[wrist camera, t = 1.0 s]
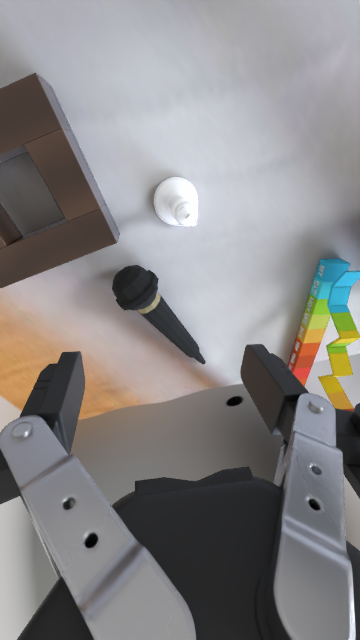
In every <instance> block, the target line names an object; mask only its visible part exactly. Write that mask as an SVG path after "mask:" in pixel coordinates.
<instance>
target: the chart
mask: <svg viewBox="0 0 360 640" xmlns="http://www.w3.org/2000/svg"><path fill="white" fill-rule="evenodd" d="M349 265H350V263H348V262H346V261H344V260H342V259H320V263H319V266H318V269H317V272H316V276H315V279H314V282H313V285H312V289H311V292H310V295H309V298H308V302H307V305H306V308H305V311H304V315H303V318H302V321H301V324H300V328H299V331H298V334H297V337H296V341H295V344H294V347H293V350H292V354H291V357H290V360H289V363H288V367H287V368H289V369H290V370H291V371H292V374H294V375H295V376H296V377H297V379H298V380H299V381H300V382H301V383H302V385H303V386H305V383H306V380H307V378H308V375H309V373H310V370H311V367H312V364H313V362H314V359H315V356H316V354H317V351H318V348H319V346H320V343H321V340H322V338H323V335H324V332H325V330H326V327H327V324H328V321H329V319H330V316H332V319H333V322H334V324H335V327H336V329H337V332H338V334H339V338H338V339H336V340H335V341H333V342H331V343H330V344H328V345H327V351H328V356H329V360H330V363H331V368H332V372H333V374H332V375H326V376H321V377H318V378H319V380H320V382H321V384H322V386H323V388H324V390H325V392H326V394H327V395H328V397H329V399H330V401H331V403H332V405H333V407H334V408H337V409H342V410H348V411H353V410H354V408H353V406H352V404H351V403H350V401H349V399H348V398H347V396H346V394H345V392H344V390H343V388H342V387H341V385H340V383H339V382H338V380H337V378H336V377H341V376H347V375H353V373H352V369H351V365H350V361H349V357H348V354H347V350H346V347H345V346H347V345H349V344H350V343H352V342H354V341H355V340H357V339H359V338H360V335H359V333H358V331H357V328H356V326H355V324H354V321H353V319H352V317H351V314H350V312H349V309H348V307H347V302H348V298H349V294H350V290H351V286H352V285H353V284H354V283H355V282H356V281H357V280H358V279H359V278H360V271H347V270H348V268H349Z"/></svg>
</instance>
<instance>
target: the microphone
mask: <svg viewBox="0 0 360 640" xmlns="http://www.w3.org/2000/svg"><path fill="white" fill-rule="evenodd" d="M157 284H158V278H157V276H156V275H155V274H154V273H153V272H151V271H150V270H149V271H146V270H145V269H144V268H142V267H140V266H138V265H134V266H128V267H125V268H123V269H122V270H120V271H119V272H118V273H117V275H116V276H115V278H114V281H113V286H112V290H113V292H114V294H115V296H116V297H117V299H116V301H117V303H118V304H119V306H120V307H121V308H122V309H124V310H138V311H139V312H140V314H141V315H143V316H144V317H145V318H146V319H147V320H148V321H149V322H150V323H151V324H153V325H154V326H155V327H156V328H157V329H158V330H159V331H160V332H162V333H163V334H164V335H165V336H166V337H167V338H168V339H169V340H170V341H172V342H173V343H174V344H175V345H176V346H177V347H178V348H179V349H180V350H182V351H183V352H184V353H185V354H186V355H187V356H189V357H194V358H195V359H196V360H197V361H199V362H200V363H202V364H205V360H204V359H203V357H202V355H201V354H200V352H199V347H198V345H197V344H196V342H195V341H194V340H193V338H192V337H191V336H190V334H189V333H188V332H187V330H186V329H185V328H184V326H183V325H182V324H181V322H180V321H179V320H178V318H177V317H176V315H175V314H174V313H173V311H172V310H171V309H170V307H169V306H168V305H167V303H166V302H165V301H164V299H163V298H162V297H161V296H160V295H159V294H158V293H157V289H158V286H157Z"/></svg>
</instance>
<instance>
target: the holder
mask: <svg viewBox="0 0 360 640" xmlns="http://www.w3.org/2000/svg"><path fill="white" fill-rule="evenodd" d="M26 152H28V153H29V154H30V156H31V158H32V160H33V162H34V163H35V165H36V167H37V169H38V170H39V172H40V174H41V176H42V178H43V179H44V181H45V183H46V185H47V186H48V188H49V190H50V192H51V194H52V195H53V197H54V199H55V201H56V202H57V204H58V206H59V208H60V210H61V211H62V213H63V215H64V217H65V218H66V219H64V220H61V221H59V222H56V223H54V224H51V225H49V226H46V227H44V228H41V229H39V230H37V231H34V232H32V233H29V234H27V235H24V236H22V235H21V233H20V232H19V230H18V229H17V227H16V226H15V224H14V223H13V221H12V220H11V218H10V217H9V216H8V214H7V213H6V211H5V210H4V208H3V207H2V205H1V204H0V288H3V287H5V286H8V285H10V284H13V283H15V282H18V281H21V280H23V279H26V278H28V277H31V276H33V275H36V274H38V273H41V272H44V271H46V270H49V269H51V268H54V267H56V266H59V265H61V264H64V263H66V262H69V261H72V260H74V259H77V258H79V257H82V256H84V255H87V254H89V253H92V252H95V251H97V250H100V249H102V248H105V247H107V246H110V245H112V244H115V243H117V240H118V237H119V234H120V233H119V231H118V229H117V227H116V224H115V222H114V220H113V218H112V216H111V214H110V212H109V209H108V207H107V205H106V203H105V201H104V199H103V196H102V194H101V192H100V190H99V188H98V186H97V183H96V181H95V179H94V177H93V175H92V173H91V171H90V168H89V166H88V164H87V162H86V160H85V158H84V156H83V153H82V151H81V149H80V147H79V145H78V143H77V140H76V138H75V136H74V134H73V132H72V130H71V128H70V125H69V123H68V121H67V119H66V117H65V115H64V113H63V110H62V108H61V106H60V104H59V102H58V100H57V97H56V95H55V93H54V91H53V89H52V87H51V86H50V85H49V84H48V83H47V82H46V81H44V80H43V79H42V78H41V77H40V76H38V75H37V74H36V73H34V74H32V75H29V76H27V77H25V78H23V79H20V80H18V81H16V82H14V83H12V84H9V85H7V86H5V87H3V88H1V89H0V163H2V162H5V161H7V160H9V159H12V158H14V157H16V156H19V155H21V154H23V153H26Z"/></svg>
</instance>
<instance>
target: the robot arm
mask: <svg viewBox="0 0 360 640" xmlns="http://www.w3.org/2000/svg"><path fill="white" fill-rule="evenodd" d="M241 379H242V381H243V383H244V385H245V387H246V388H247V390H248V392H249V394H250V396H251V398H252V400H253V402H254V403H255V405H256V407H257V409H258V411H259V413H260V414H261V416H262V418H263V420H264V422H265V423H266V425H267V427H268V429H269V431H270V433H271V434H272V435H275V434H282V435H283V437H284V439H283V442H282V445H281V450H280V456H279V461H278V465H277V470H276V475H275V479H274V483H272V482H270V481H267V480H265V479H262V478H259V477H254V476H253V475H252V473H251V470H250V468H249V467H242V468H234V469H226V470H222V471H219V472H217V473H214V474H212V475H210V476H208V477H205V478H203V479H201V480H198V481H188V480H181V479H173V478H166V477H163V478H156V479H148V480H140V481H135V491H134V492H132V493H129V494H128V495H126V496H124V497H122V498H121V499H119V500H118V501H117V502H116V503H114V504H113V505H112V506H111V505H110V503H109V502H108V500H107V499H106V498H105V496H104V495H103V493H102V492H101V491H100V490H99V488H98V487H97V485H96V484H95V482H94V481H93V480H92V478H91V477H90V476H89V474H88V473H87V471H86V470H85V469H84V467H83V466H82V464H81V463H80V462H79V460H78V459H77V458H76V457H75V456H74V455H73V454H71V455H70V452H71V447H72V443H73V439H74V434H75V430H76V425H77V421H78V417H79V412H80V408H81V404H82V399H83V395H84V390H85V376H84V369H83V363H82V356H81V352H80V351H79V352H62V354H61V356H60V359H59V361H58V364H49V365H48V366H47V367H46V368H45V369H44V370H42V371H41V373H40V375H39V377H38V379H37V382H36V383H35V385H34V388H33V390H32V392H31V394H30V396H29V398H28V400H27V402H26V404H25V406H24V409H23V411H22V413H21V415H20V417H19V418H18V419H16V420H14V421H12V422H10V423H9V424H8V425H7V426H6V427H4V429H3V430H2V431H1V433H0V504H2V503H4V502H7V501H9V500H11V499H14V498H16V497H18V496H20V497H21V499H22V501H23V504H24V506H25V508H26V510H27V512H28V514H29V516H30V518H31V521H32V522H33V525H34V527H35V529H36V531H37V533H38V535H39V538H40V540H41V542H42V544H43V547H44V549H45V551H46V553H47V556H48V558H49V560H50V562H51V564H52V566H53V569H54V570H55V573H56V575H57V577H58V581H57V582H56V584H55V585H54V586H53V588H52V589H51V591H50V592H49V594H48V595H47V597H46V598H45V599H44V601H43V602H42V604H41V605H40V607H39V608H38V610H37V611H36V613H35V614H34V615H33V617H32V619H31V620H30V621H29V623H28V624H27V626H26V627H25V628H24V630H23V631H22V633H21V634H20V636H19V637H18V639H17V640H360V551H359V550H358V549H356V548H355V547H354V546H353V545H352V544H350V543H349V542H348V541H347V540H346V531H345V530H346V529H345V503H344V476H343V474H344V475H345V477H346V478H347V480H348V481H349V483H350V484H351V486H352V487H353V489H354V491H355V492H356V494H357V495H358V497H359V498H360V403H359V404H357V405H356V407H355V408H354V410H353V411H348V410H342V409H337V408H334V407H333V405H332V404H331V403H330V402H329V401H327V400H326V399H324V398H323V397H321V396H318V395H315V394H311V393H309V392H308V391H307V390H306V388H305V387H304V386H303V385H302V383H301V382H300V381H299V380H298V379H297V377H296V376H295V375H294V374H292V371H291V370H290V369H289V368H287V365H286V364H285V363H284V362H283V361H282V359H280V358H279V357H277V356H276V355H274V354H273V353H272V354H270V353H269V352H268V350H267V349H266V348H265V347H264V345H262V344H255V345H247V346H246V347H245V351H244V356H243V361H242V365H241Z"/></svg>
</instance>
